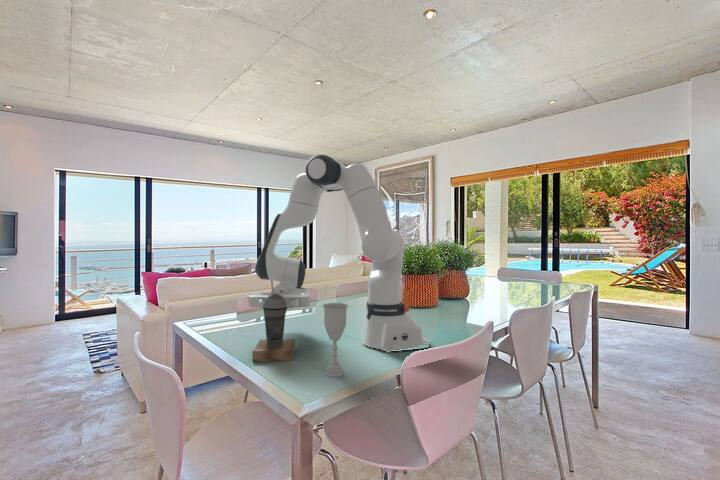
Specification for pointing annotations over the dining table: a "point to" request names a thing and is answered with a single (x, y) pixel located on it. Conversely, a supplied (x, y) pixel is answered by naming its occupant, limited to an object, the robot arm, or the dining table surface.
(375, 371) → the dining table surface
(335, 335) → the chalice
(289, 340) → the walnut plinth
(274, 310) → the beverage cup
